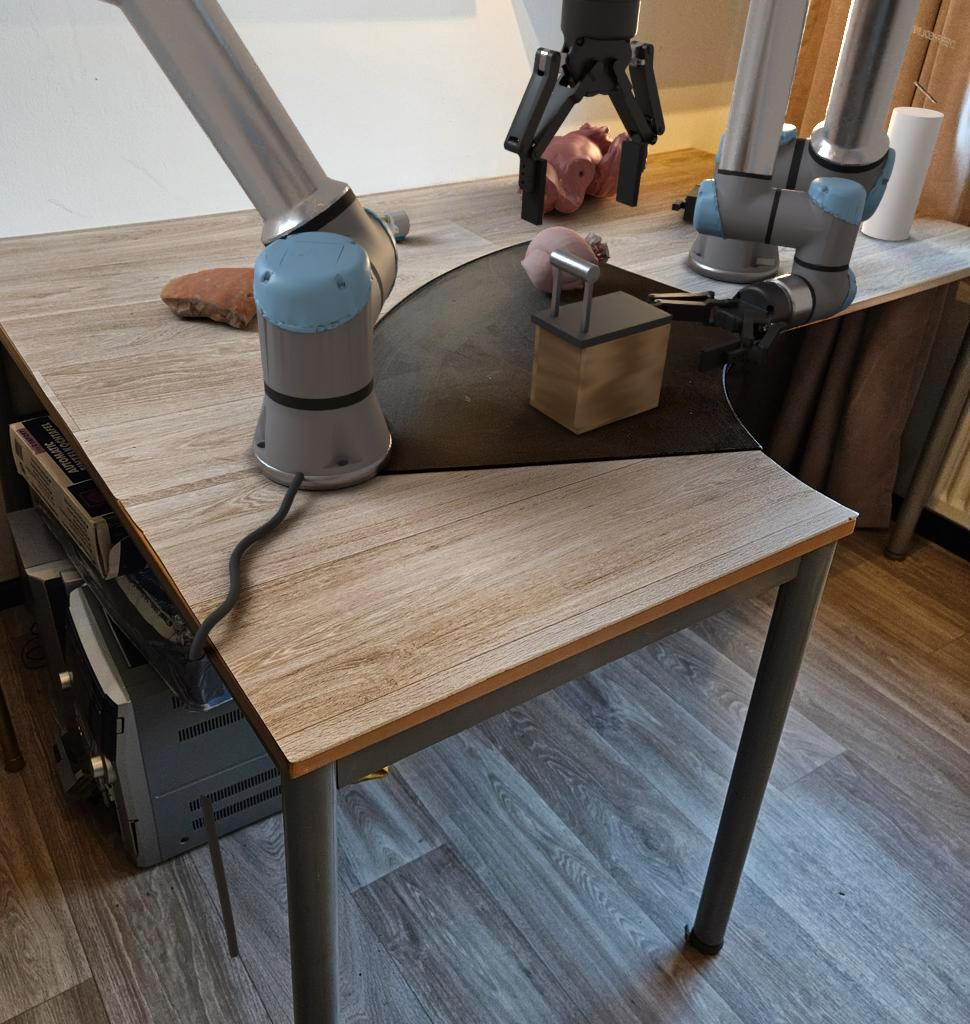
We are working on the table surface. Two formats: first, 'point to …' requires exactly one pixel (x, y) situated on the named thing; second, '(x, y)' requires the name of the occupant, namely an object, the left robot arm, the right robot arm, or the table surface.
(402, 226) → the electric motor
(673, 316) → the right robot arm
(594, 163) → the reddish clay figurine
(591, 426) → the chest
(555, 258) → the lid
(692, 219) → the toy
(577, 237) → the toy
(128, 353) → the table surface
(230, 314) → the ceramic shard
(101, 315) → the table surface
